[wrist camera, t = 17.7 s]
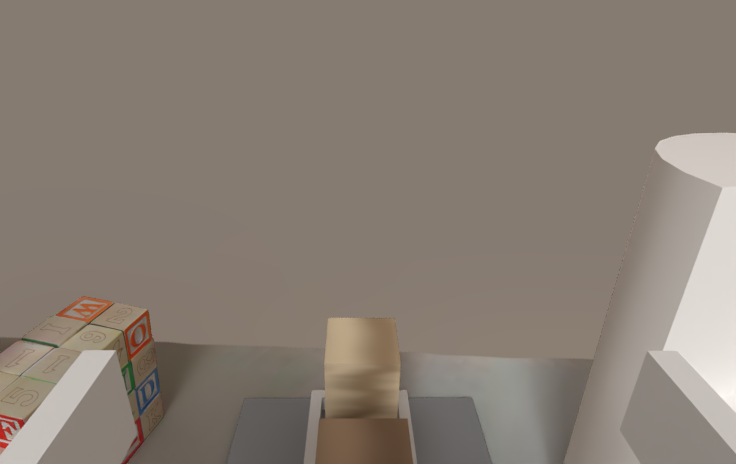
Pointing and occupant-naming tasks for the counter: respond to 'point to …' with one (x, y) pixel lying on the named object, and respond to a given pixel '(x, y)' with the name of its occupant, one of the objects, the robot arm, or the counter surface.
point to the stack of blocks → (64, 345)
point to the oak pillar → (361, 368)
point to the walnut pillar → (363, 441)
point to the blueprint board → (301, 418)
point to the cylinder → (668, 290)
